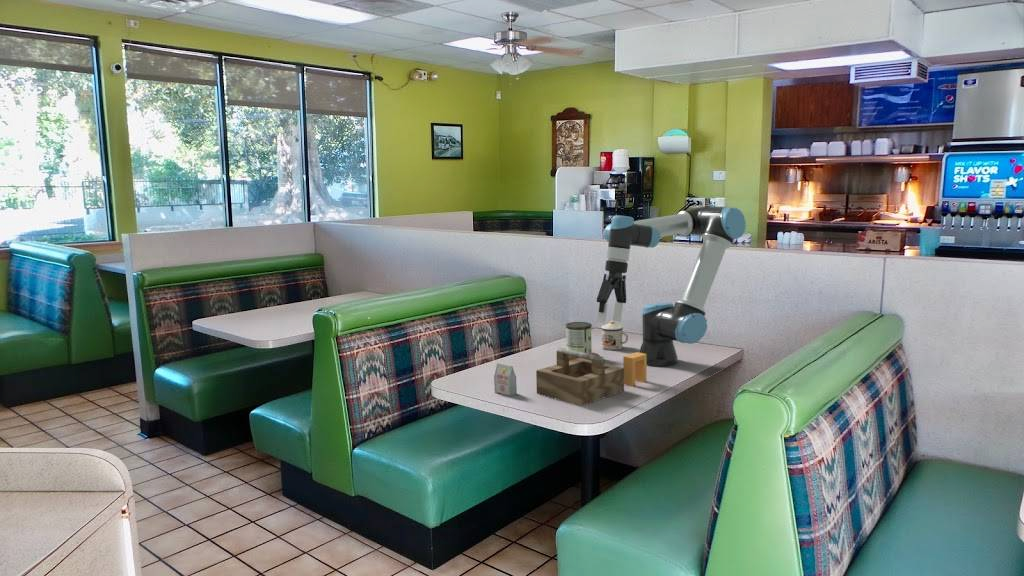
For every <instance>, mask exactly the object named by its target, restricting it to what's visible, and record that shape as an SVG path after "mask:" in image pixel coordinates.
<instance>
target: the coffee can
mask: <svg viewBox="0 0 1024 576" xmlns="http://www.w3.org/2000/svg"><path fill="white" fill-rule="evenodd" d="M565 339H566V341H565V343H566V348H565V349H569V350H574V351H579V352H583V353H589V352H592V350H593V349H592V323H590V322H587V321H572V322H568V323H565Z"/></svg>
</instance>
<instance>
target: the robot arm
mask: <svg viewBox="0 0 1024 576" xmlns="http://www.w3.org/2000/svg"><path fill="white" fill-rule="evenodd" d="M634 220H635V219H634V217H632V216H626V215H614V216H613V217H612V219H611V223H609V224H607V226H606V227H605V229H604V238H605V240H606V241H607V243H608V246H607V249H606V253H607V254H606V258H607V259H606V260H605V267H604V270H605V271H607V272H608V273H603V274H604V275H603V277H602V282H601V286H600V288H599V291H598V293H597V294H598V295H597V296H596V303H599V304H598V311H597V318H596V319H597V320H596V322H597V323H603V324H606V319H607V313H608V312H607V311H608V305H609V304H608V300H609V298H610V296H611V294H612V292H614V295H615V300H616V302H614V308H613V317H612V321H614V322H621V321H622V314H623V307H624V306H623V305H624V304H626V303H627V286H626V279H627V276H626V275H625V274H626V273H628V268H629V267H628V265H629V264H628V261H629V259H630V252H631V246H634V247H635V246H636V247H643V248H647V249H648V248H649V249H650V248H655V247H656V246H658V244H659V243H660V241H661V238H663V237H669V236H674V235H675V236H676V235H681V236H693V235H694V236H701V238H702V240H703V242H702V245H701V248H700V250H699V253H698V256H697V258H696V260H695V263H694V265H693V268H692V271H691V273H690V276H689V278H688V281H687V283H686V286H685V288H684V291H683V294H682V296H681V299H679V300H677V301H675V302H674V303H673V302H657V303H656V302H655V303H654V302H653V303H648V304H645V305H644V306H643V307H642V343H641V346H640V349H639V353H644V354H647V366H653V367H666V366H667V367H669V366H673V365H676V364H677V363H678V360H679V359H678V355H677V354H678V353H677V352H676V351H677V350H676V347H675V345H674V341H676V342H680V344H681V343H682V344H695V343H698V342H699V341H701V340H702V339H703V337H704V336H705V334H706V333H707V330H708V324H707V323H708V320H707V318H706V316H705V315H706V313H707V312H706V310H705V304H706V301H707V299H708V297H709V295H710V291H711V289H712V287H713V283H714V281H715V279H716V276H717V273H718V271H719V267H720V265H721V263H722V261H723V257H724V256H725V253H726V250H727V249H729V248H731V247H732V246H733V243H734V241H735V240H737V239H740V238H741V237H742V236H744V233H745V231H746V224H747V223H746V219H745V215H744V213H743V212H742V211H741V210H740V209H739V208H737V207H733V206H728V205H727V206H713V205H712V206H711V205H707V206H705V205H704V206H699V207H696V208H695V207H694V208H690V209H686V210H681V211H678V212H677V214H673V215H664V216H659V217H658V216H657V217H653V218H646V219H640V220H635V221H634ZM613 290H614V291H613Z"/></svg>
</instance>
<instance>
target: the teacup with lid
mask: <svg viewBox="0 0 1024 576" xmlns="http://www.w3.org/2000/svg"><path fill="white" fill-rule="evenodd" d="M623 329H624V327H623V326H622V325H620V324H618V323H616V322H615V321H614V320H610V321H609V322H608V323H605V324H604V325H602V326H601V348H602V349H603V348H604V349H603V350H606V349H608V350H607V351H618V350H621V349H623V345H625V344H626V343H627V342H628V340H629V335H628V333H626V332H625V331H623ZM623 335H624V336H625V340H624V341H623Z"/></svg>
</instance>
